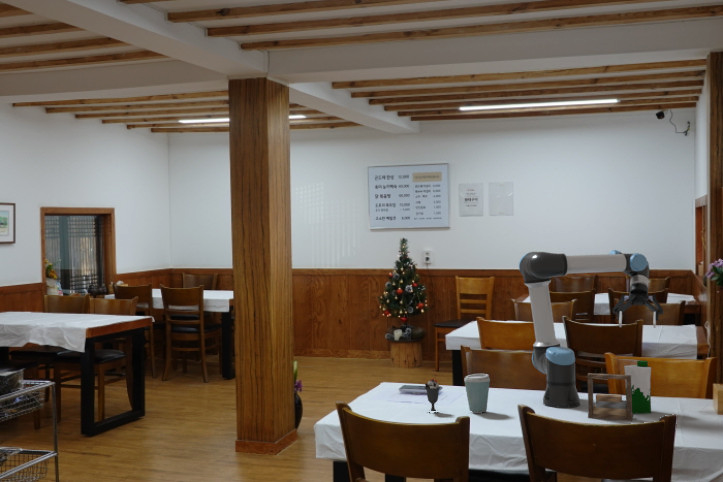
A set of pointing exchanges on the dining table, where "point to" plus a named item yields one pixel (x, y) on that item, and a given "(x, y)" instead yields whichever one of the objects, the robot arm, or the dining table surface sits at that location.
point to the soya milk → (640, 386)
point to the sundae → (432, 392)
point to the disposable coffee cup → (477, 391)
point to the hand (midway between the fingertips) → (637, 325)
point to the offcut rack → (610, 400)
